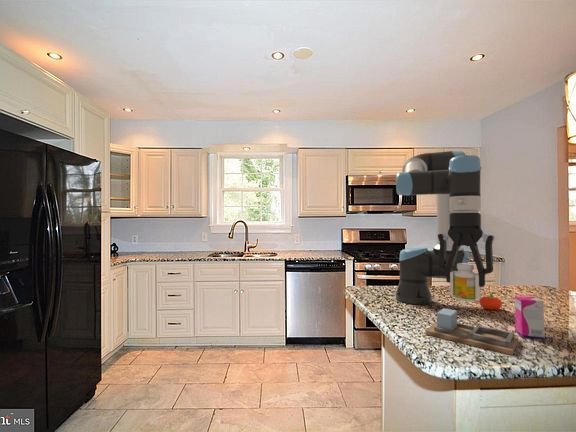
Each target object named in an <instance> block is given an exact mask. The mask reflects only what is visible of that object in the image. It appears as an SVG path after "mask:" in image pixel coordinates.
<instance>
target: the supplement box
mask: <svg viewBox="0 0 576 432" xmlns="http://www.w3.org/2000/svg"><path fill="white" fill-rule="evenodd" d="M544 303H545V302H544V300H542V299H540V298H538V297H536V296H523V295H522V296H521V295H514V311H515V312H514V314H515V315H514V317H515V318H514V320H515V332H516V331H517V334H519V335H520V336H521V337H522V338H527V339H540V340H545V337H546V336H545V335H546V334H545V309H544V308H545V307H544V306H545V305H544Z"/></svg>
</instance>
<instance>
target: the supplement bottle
mask: <svg viewBox="0 0 576 432" xmlns="http://www.w3.org/2000/svg"><path fill="white" fill-rule="evenodd" d="M474 267H475V266H474V264H473V263H469V262H468V263H457V269H458V271H456V272H455V273H454V299H455V300H458V301H462V302H467V303H468V302H470V303H471V302H476V301H477V300H478V299H475V275H476V274H477V273H476V272H474V271H473V270H474Z"/></svg>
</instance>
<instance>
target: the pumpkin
mask: <svg viewBox="0 0 576 432" xmlns="http://www.w3.org/2000/svg"><path fill="white" fill-rule="evenodd" d="M478 301H479V305H480V306H481V307H482V308H484V309H486V310H488V311H497V310H499V309H502V306H503V302H502V300H501V299H500V298H499V297H497V296H496V297H495V296H494V294H493V293H492V292H491V293H489V296H481V298H480V299H479V300H478Z"/></svg>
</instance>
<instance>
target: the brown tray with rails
mask: <svg viewBox="0 0 576 432" xmlns="http://www.w3.org/2000/svg"><path fill="white" fill-rule="evenodd" d="M425 335H427V336H431V337H435V338H439V339H443V338H444V340H447V339H448V341H451V340H452V342H455V341H456V343H459V342H460V344H465V345H467V346H468V345H469V346H473V347H476V348H481V349H485V350H489V351H494V352H498V353H500V354H507V355H510V356H513V355H514V353H515V350H516V348H517V345H518V342H519V336H515V332H513V331H512V332H511V331H506V330H503V329H497V328H493V327H492V328H491V327H487V326H482V325H477V324H476V325H474V326H473V325H471V324H470V325H468V324H465V323H460V322H457V327H456V328H455V329H454V330H453V331H452V330H447V329H443V328H438V327H437V321H436V322H434V323H433V324H432V325H430V326H429V327H428V328H427V329H425Z"/></svg>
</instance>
